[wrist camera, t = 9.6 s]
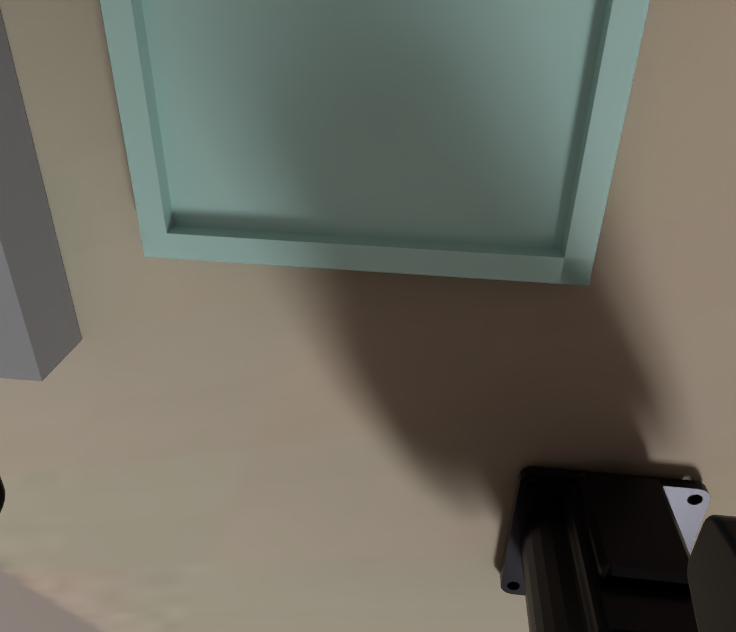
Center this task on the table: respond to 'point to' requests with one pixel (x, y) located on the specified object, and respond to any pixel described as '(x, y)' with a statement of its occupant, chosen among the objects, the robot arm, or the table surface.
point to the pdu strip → (28, 249)
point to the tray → (375, 130)
